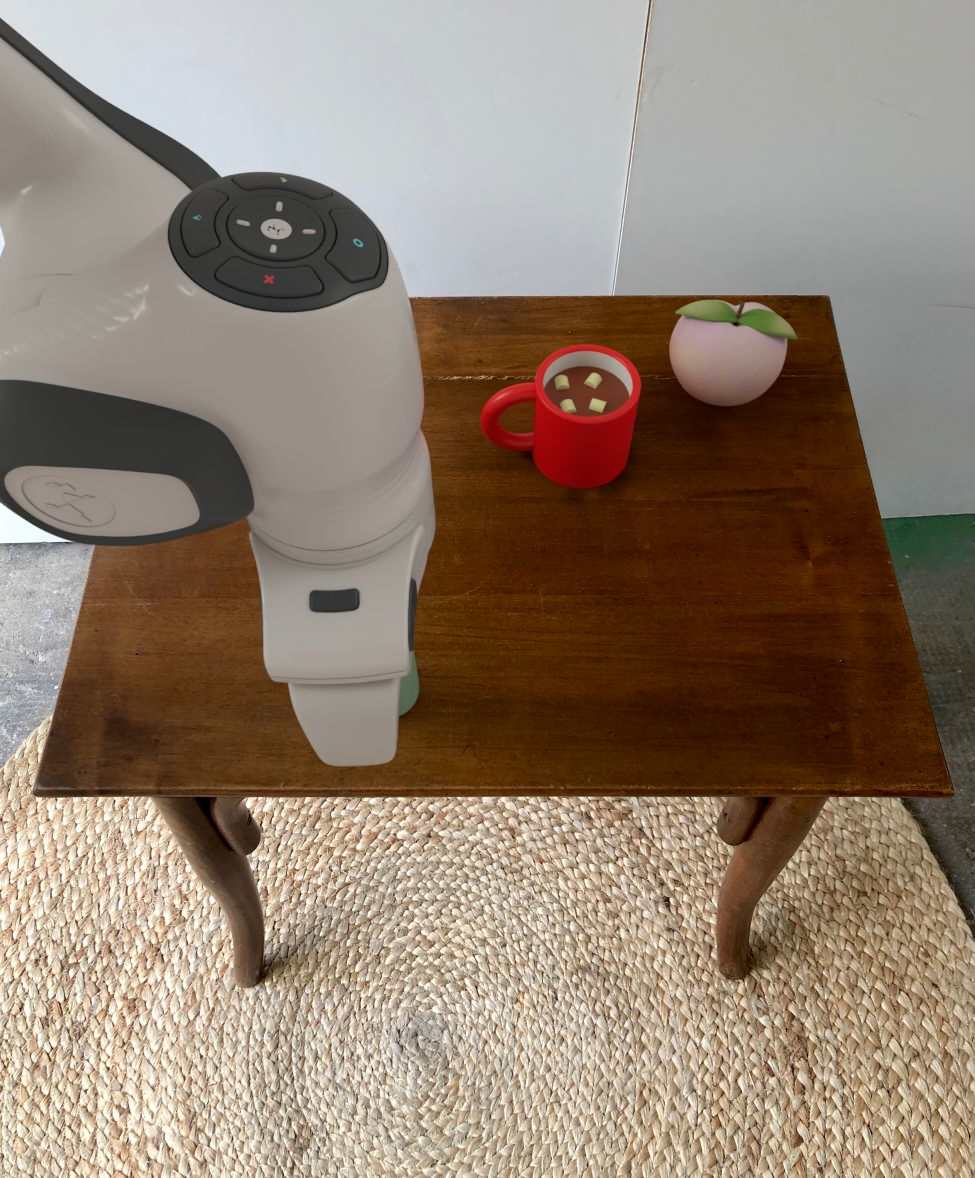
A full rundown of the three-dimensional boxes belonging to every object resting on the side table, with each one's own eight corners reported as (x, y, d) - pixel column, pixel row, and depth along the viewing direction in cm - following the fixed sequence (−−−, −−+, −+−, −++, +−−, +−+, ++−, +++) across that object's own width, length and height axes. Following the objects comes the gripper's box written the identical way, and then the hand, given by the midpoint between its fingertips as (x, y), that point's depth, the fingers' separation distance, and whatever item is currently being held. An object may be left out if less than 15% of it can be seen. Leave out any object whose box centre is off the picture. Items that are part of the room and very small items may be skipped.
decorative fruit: (659, 431, 74) (679, 340, 66) (660, 358, 79) (679, 264, 70) (774, 439, 74) (810, 349, 65) (769, 365, 78) (803, 272, 69)
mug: (477, 420, 75) (474, 351, 69) (620, 409, 76) (631, 339, 69) (485, 496, 71) (484, 431, 65) (636, 484, 72) (650, 417, 65)
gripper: (290, 352, 49) (330, 503, 61) (260, 703, 38) (314, 801, 50) (407, 348, 49) (423, 499, 61) (408, 696, 39) (427, 796, 50)
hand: (374, 638), depth 56 cm, fingers closed on bottle, 4 cm apart
